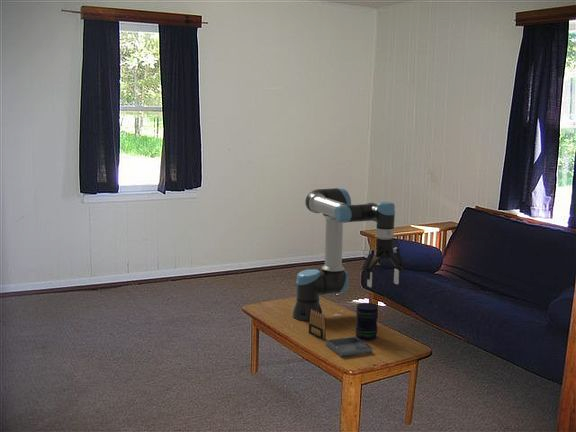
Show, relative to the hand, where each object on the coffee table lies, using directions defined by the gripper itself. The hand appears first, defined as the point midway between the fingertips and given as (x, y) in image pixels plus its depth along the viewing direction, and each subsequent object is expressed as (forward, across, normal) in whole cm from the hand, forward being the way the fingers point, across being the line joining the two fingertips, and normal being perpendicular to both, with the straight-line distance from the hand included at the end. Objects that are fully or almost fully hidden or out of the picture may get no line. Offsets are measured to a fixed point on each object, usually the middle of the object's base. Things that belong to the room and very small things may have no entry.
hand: (382, 285), depth 290 cm
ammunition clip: (+28, -21, +21) cm, 41 cm away
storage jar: (+28, 0, +12) cm, 31 cm away
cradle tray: (+28, -15, +1) cm, 32 cm away
